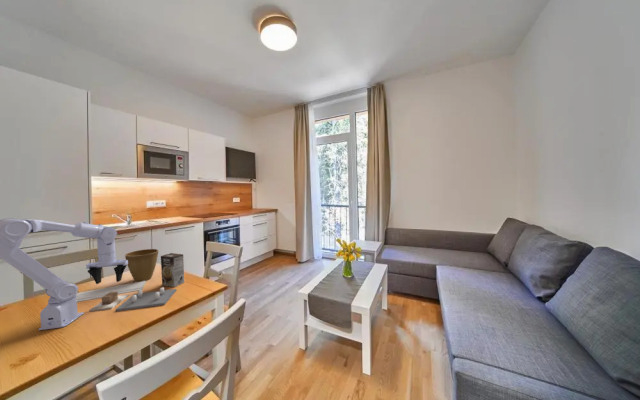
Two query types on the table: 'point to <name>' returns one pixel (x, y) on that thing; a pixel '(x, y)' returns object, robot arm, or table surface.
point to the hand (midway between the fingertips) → (108, 282)
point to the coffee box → (172, 269)
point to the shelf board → (105, 307)
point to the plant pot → (142, 263)
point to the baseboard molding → (102, 292)
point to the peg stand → (147, 299)
